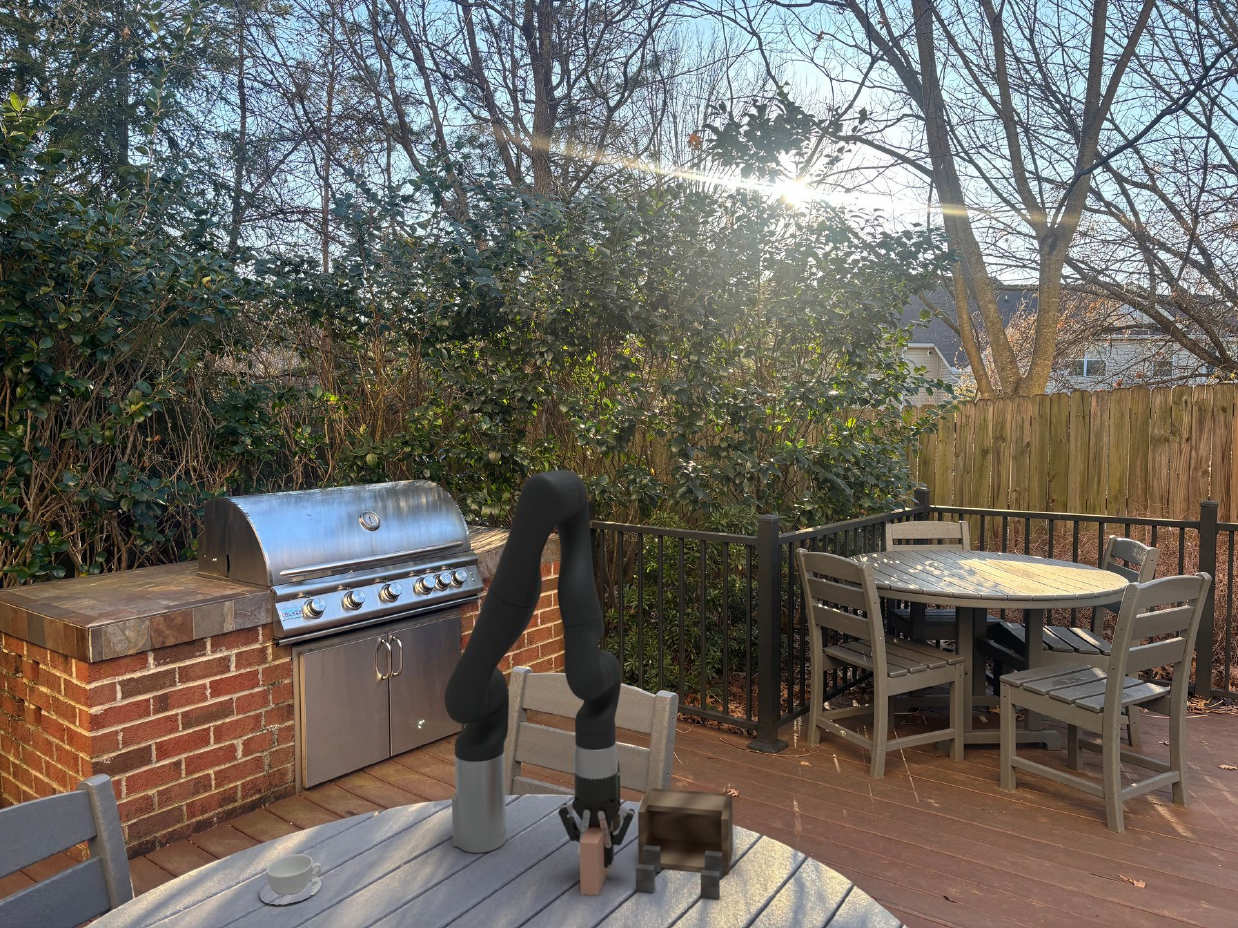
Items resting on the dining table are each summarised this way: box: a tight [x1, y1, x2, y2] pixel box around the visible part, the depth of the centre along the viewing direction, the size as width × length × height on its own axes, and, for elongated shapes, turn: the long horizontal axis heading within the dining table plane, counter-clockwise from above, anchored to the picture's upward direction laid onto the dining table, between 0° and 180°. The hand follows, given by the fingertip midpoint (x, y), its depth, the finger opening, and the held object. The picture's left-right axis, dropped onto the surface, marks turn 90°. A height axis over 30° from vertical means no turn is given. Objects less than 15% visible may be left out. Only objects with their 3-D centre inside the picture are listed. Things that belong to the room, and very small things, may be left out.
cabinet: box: [635, 787, 734, 901], centre depth 151 cm, size 16×18×10 cm
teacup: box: [266, 853, 323, 896], centre depth 145 cm, size 10×10×5 cm
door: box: [577, 826, 612, 896], centre depth 148 cm, size 12×4×9 cm, turn 168°
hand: (597, 863), depth 148 cm, fingers closed on door, 3 cm apart
